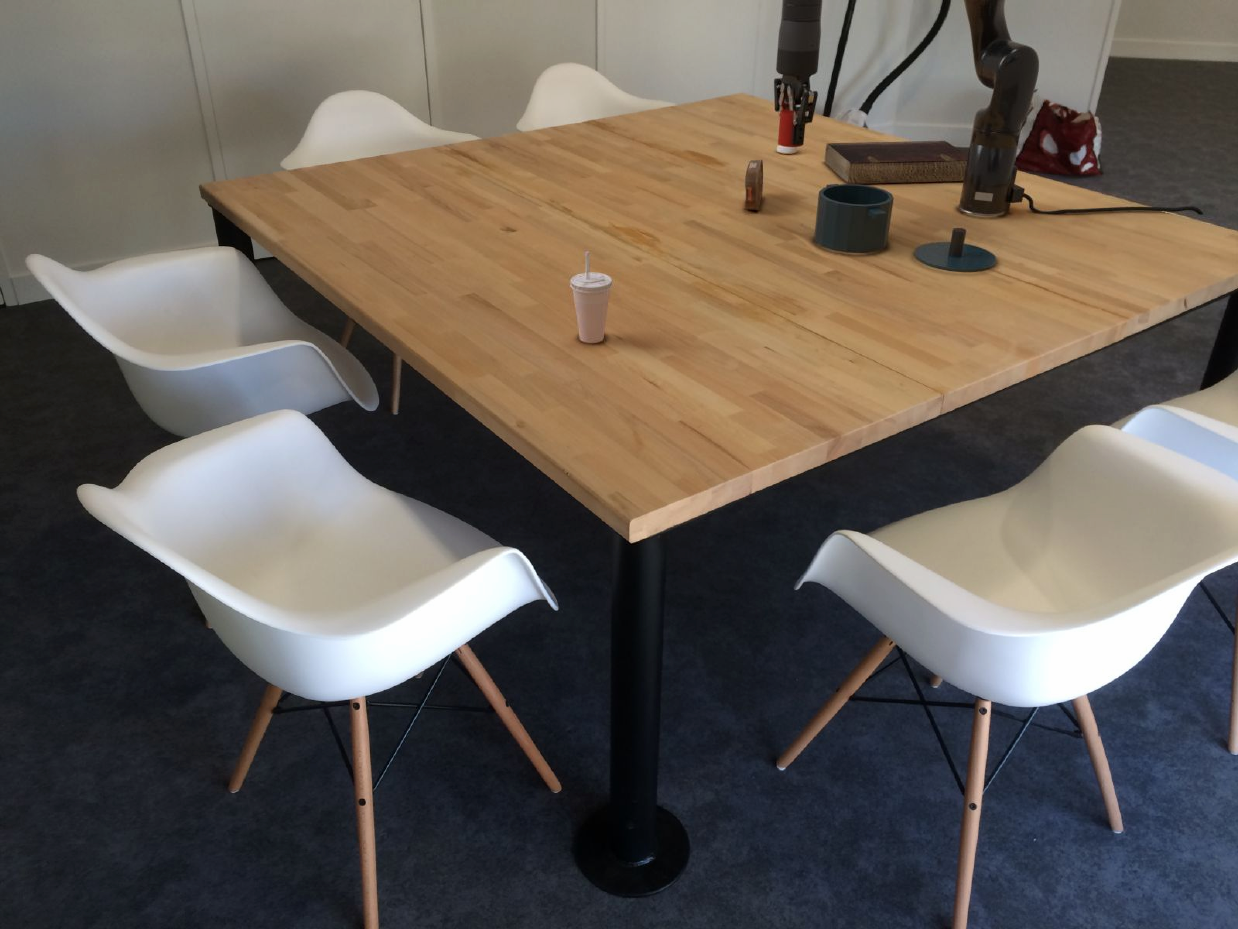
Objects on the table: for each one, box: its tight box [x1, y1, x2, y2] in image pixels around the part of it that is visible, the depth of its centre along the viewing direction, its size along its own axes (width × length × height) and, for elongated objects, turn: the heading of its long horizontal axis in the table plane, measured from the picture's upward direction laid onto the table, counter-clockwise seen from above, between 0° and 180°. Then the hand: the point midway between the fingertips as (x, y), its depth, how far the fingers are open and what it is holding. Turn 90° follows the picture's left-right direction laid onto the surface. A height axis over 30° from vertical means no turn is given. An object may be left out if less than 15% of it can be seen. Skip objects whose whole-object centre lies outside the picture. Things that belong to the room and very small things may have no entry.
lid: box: [913, 227, 997, 273], centre depth 195 cm, size 15×15×6 cm
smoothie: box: [570, 251, 613, 344], centre depth 162 cm, size 6×6×14 cm
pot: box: [813, 183, 894, 254], centre depth 202 cm, size 14×19×10 cm
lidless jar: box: [776, 144, 798, 155], centre depth 260 cm, size 5×3×5 cm
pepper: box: [777, 105, 804, 148], centre depth 199 cm, size 5×5×8 cm
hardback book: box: [824, 140, 968, 184], centre depth 245 cm, size 29×19×5 cm, turn 97°
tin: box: [744, 159, 764, 211], centre depth 223 cm, size 15×3×8 cm, turn 168°
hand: (790, 140), depth 200 cm, fingers closed on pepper, 4 cm apart
